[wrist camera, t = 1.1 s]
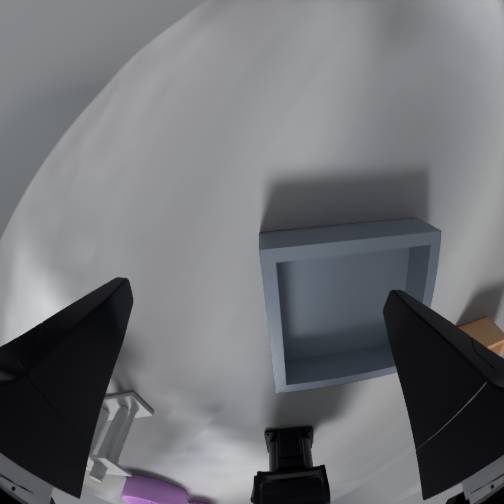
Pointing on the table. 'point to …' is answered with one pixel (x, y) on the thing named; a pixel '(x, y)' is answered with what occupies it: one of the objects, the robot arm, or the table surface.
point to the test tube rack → (114, 433)
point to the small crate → (486, 334)
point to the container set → (152, 492)
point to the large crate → (340, 296)
